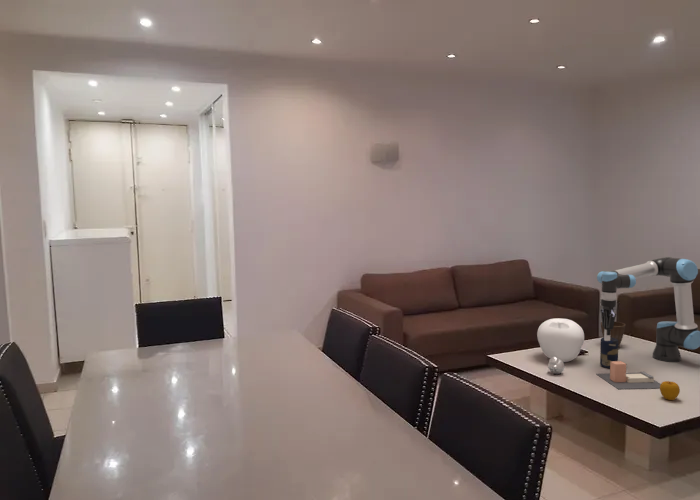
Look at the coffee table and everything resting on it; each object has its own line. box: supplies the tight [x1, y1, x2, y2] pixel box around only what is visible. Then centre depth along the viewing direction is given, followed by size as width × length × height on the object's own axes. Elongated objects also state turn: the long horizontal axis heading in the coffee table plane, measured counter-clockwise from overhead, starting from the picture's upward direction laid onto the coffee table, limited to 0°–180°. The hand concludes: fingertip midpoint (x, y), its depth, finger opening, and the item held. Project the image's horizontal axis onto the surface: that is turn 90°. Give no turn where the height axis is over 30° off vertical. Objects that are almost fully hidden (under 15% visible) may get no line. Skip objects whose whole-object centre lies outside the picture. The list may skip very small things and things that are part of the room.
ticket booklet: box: [626, 371, 655, 383], centre depth 285 cm, size 14×9×3 cm, turn 91°
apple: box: [659, 380, 681, 401], centre depth 259 cm, size 9×8×9 cm
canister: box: [599, 337, 619, 369], centre depth 309 cm, size 10×10×18 cm
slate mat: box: [596, 372, 661, 390], centre depth 285 cm, size 26×24×1 cm
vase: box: [536, 317, 585, 363], centre depth 323 cm, size 28×27×25 cm
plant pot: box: [600, 321, 626, 348], centre depth 349 cm, size 15×15×16 cm
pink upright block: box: [609, 360, 627, 382], centre depth 284 cm, size 6×5×10 cm
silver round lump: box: [547, 357, 566, 375], centre depth 299 cm, size 9×10×10 cm
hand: (607, 340), depth 295 cm, fingers closed
